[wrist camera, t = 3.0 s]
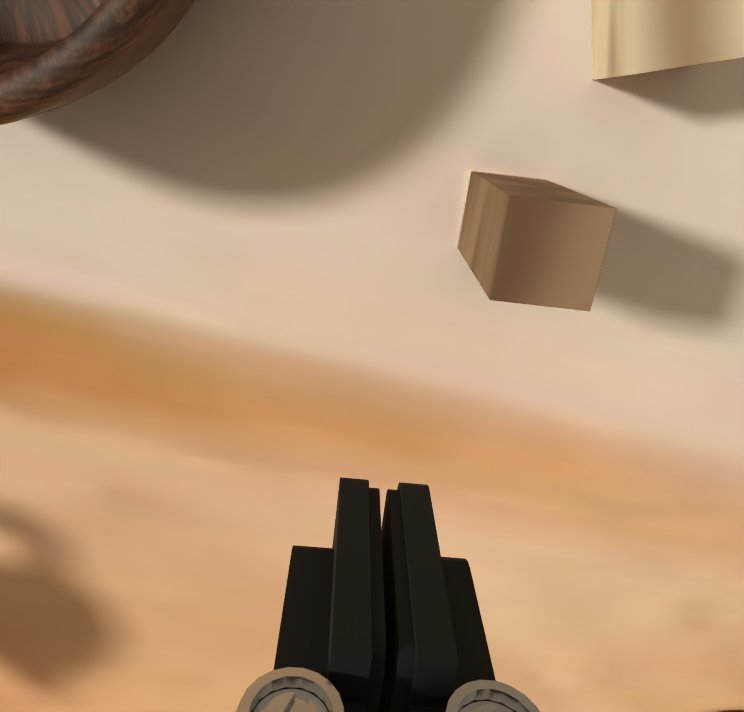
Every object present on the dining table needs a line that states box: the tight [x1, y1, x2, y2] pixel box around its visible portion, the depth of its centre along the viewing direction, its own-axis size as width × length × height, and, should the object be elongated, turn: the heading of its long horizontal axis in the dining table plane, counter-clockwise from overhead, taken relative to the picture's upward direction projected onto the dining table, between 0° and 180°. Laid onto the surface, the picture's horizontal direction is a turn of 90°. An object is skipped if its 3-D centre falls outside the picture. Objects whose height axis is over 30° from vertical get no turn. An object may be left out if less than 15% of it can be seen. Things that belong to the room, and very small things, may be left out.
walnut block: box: [457, 171, 616, 311], centre depth 28 cm, size 4×4×10 cm
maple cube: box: [592, 0, 744, 80], centre depth 27 cm, size 5×5×5 cm
